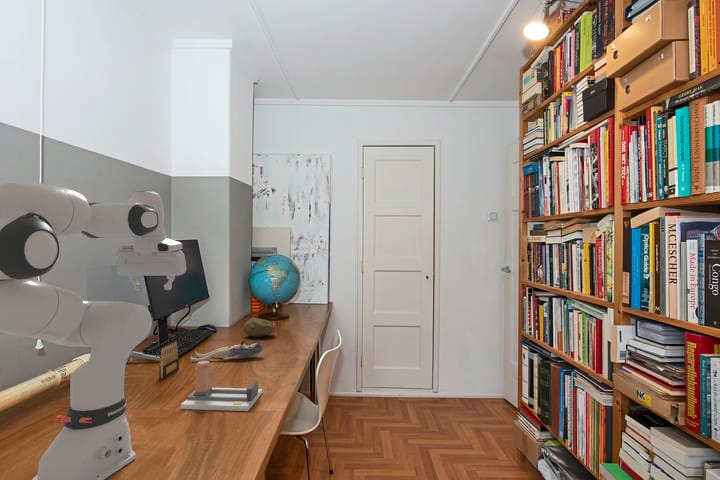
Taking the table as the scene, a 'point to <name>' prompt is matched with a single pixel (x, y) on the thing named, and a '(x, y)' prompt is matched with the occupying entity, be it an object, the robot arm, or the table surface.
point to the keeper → (203, 379)
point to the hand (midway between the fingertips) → (153, 289)
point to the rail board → (225, 399)
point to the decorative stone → (258, 327)
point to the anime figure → (231, 352)
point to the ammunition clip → (168, 361)
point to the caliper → (142, 356)
